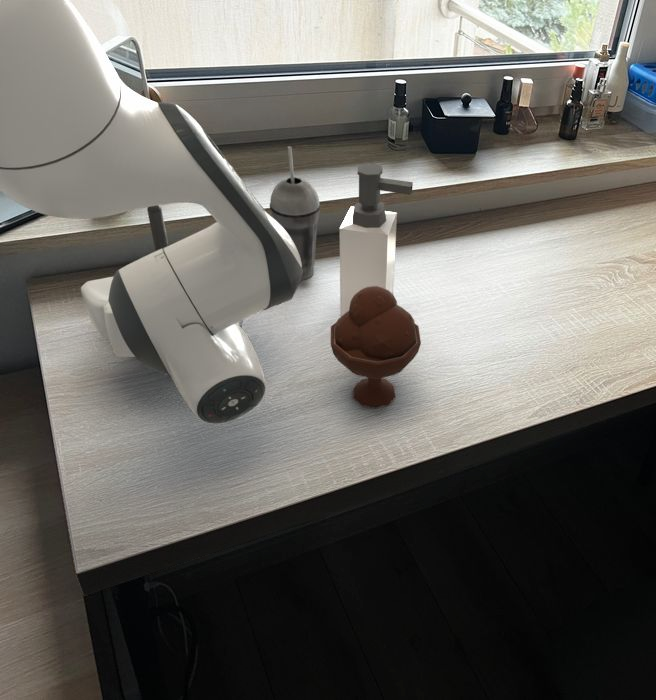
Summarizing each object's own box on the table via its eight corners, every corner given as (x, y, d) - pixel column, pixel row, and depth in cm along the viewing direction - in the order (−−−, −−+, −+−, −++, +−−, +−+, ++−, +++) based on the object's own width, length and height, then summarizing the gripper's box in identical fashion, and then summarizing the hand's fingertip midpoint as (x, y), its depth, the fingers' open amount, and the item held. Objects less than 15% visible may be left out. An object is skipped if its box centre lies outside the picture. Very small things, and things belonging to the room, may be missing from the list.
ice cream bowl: (313, 402, 90) (309, 303, 81) (364, 355, 98) (365, 261, 89) (385, 435, 87) (389, 337, 78) (431, 384, 95) (440, 290, 86)
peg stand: (153, 341, 94) (126, 217, 83) (151, 315, 98) (125, 194, 87) (201, 335, 96) (182, 213, 85) (198, 309, 100) (178, 190, 89)
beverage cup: (283, 289, 108) (274, 164, 96) (268, 264, 113) (258, 142, 101) (329, 280, 112) (326, 157, 99) (313, 256, 116) (309, 137, 104)
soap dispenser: (400, 325, 104) (408, 185, 91) (340, 316, 105) (339, 175, 91) (408, 300, 109) (416, 164, 96) (351, 292, 110) (351, 155, 96)
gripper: (278, 275, 85) (241, 221, 94) (89, 315, 76) (68, 251, 85) (281, 318, 89) (246, 263, 98) (102, 361, 80) (81, 296, 89)
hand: (162, 258), depth 91 cm, fingers closed on peg stand
